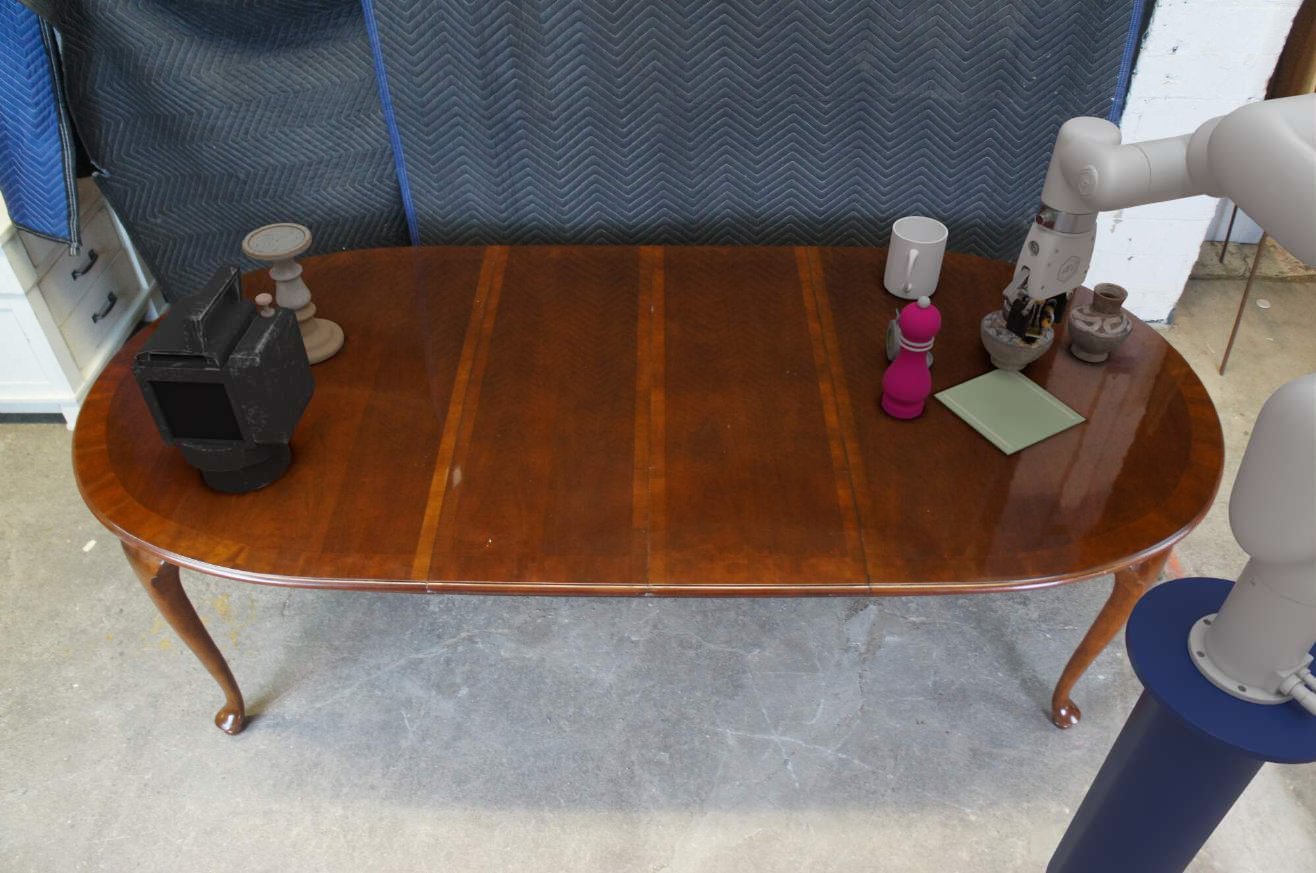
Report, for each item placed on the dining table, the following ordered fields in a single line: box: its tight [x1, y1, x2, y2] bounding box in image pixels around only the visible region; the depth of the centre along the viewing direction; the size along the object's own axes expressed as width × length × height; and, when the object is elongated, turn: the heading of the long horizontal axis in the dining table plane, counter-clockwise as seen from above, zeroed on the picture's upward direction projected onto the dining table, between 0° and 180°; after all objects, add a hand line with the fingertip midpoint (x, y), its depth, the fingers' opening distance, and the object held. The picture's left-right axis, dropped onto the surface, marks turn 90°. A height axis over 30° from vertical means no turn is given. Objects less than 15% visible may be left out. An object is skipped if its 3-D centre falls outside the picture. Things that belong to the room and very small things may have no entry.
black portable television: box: [130, 262, 317, 494], centre depth 133 cm, size 15×18×30 cm
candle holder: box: [241, 222, 345, 366], centre depth 158 cm, size 12×12×20 cm
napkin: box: [933, 368, 1086, 456], centre depth 152 cm, size 16×16×1 cm
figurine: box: [1017, 294, 1057, 348], centre depth 141 cm, size 5×5×8 cm
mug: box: [883, 215, 949, 301], centre depth 174 cm, size 10×12×12 cm
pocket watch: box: [885, 308, 934, 369], centre depth 158 cm, size 8×8×10 cm
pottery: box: [979, 282, 1134, 371], centre depth 158 cm, size 11×25×12 cm, turn 101°
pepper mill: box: [881, 296, 942, 420], centre depth 146 cm, size 7×7×20 cm
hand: (1033, 324), depth 142 cm, fingers closed on figurine, 6 cm apart
